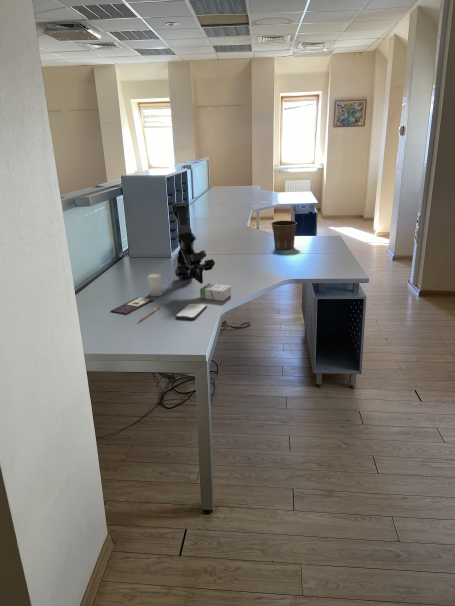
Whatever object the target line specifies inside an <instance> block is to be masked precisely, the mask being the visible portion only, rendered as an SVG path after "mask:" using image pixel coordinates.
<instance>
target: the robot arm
mask: <svg viewBox="0 0 455 606" xmlns="http://www.w3.org/2000/svg"><path fill="white" fill-rule="evenodd" d="M171 212H172V213H173V217H174V218H175V220H176V224H177V230H178V231H177V232H178V233H177V234H176V236H177V237H176V238H177V243H179V250H178V252H177V256H176V265H177V266H176V268H175V271H174V273H175V274H174V275H175V277H176V278H180V279H182V280H189V279H194V280H196V282H198V283H199V284H200V285H201V284H203V283H204V280H203V279H204V278H203V276H204V275H203V272H204V271H210V270H213V268H214V266H215V264H216V262H215V260H214V259H212V258H211V259H206V260H205V261H204V263H202V260H204V258H207V254H206V250H200V251H199V252H196V251H195V249H194V243H195V241H196V239H197V238H196V236H195V235H194V233H192V232H193V231H192V228H190V226H189V223H188V217H187V215H188V212H189V204H187V203H186V202H185V201H184V202H183V201H181V202H173V204H171Z"/></svg>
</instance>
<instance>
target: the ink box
mask: <svg viewBox="0 0 455 606" xmlns="http://www.w3.org/2000/svg"><path fill="white" fill-rule="evenodd" d="M199 292H200V294H199V295H200V300H201V299H202V300H213V301H219V302H224V301H226V300H227V299H228V298H229V297H231V296H232V287H231V285H225V284H216V283H207V284H205V285H204V286H203V287H201V288H200V289H199Z"/></svg>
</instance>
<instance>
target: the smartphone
mask: <svg viewBox="0 0 455 606" xmlns="http://www.w3.org/2000/svg"><path fill="white" fill-rule="evenodd" d="M207 308H208V305H207V304H202V303H201V304H200V303H189V304H187V305H186V306H185V307H183V309H181V310H180V311H179V312H178V313H176V314H175V319H176V320H183V321H195V320H197V318H198V317H199V316H200V315H201V314H202V313H203V312H204V311H205V310H206V309H207Z"/></svg>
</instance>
